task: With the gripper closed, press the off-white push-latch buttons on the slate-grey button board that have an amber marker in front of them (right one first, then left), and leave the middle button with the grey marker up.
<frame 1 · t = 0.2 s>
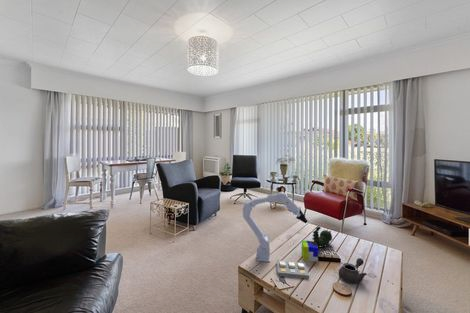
hand: (305, 220, 144), 30 cm above the table, tool tilted 45°, fingers open, 7 cm apart
button left: (282, 264, 139), point 3 cm above the table, slide at 0.0 cm
puzzle toy: (309, 257, 153), on the table
button middle: (291, 265, 138), point 3 cm above the table, slide at 0.0 cm
green cactus plant: (322, 245, 172), on the table
teapot: (354, 277, 130), on the table
button board: (291, 270, 137), on the table
button right: (301, 265, 137), point 3 cm above the table, slide at 0.0 cm
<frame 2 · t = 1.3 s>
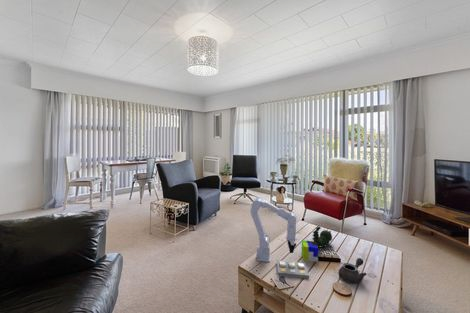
hand: (290, 250, 144), 9 cm above the table, tool pointing down, fingers open, 6 cm apart
nothing on the table moved.
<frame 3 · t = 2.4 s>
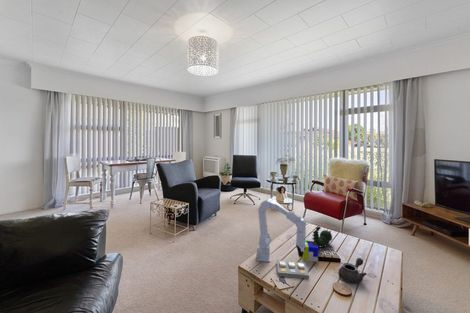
hand: (300, 256, 138), 9 cm above the table, tool pointing down, fingers closed
nothing on the table moved.
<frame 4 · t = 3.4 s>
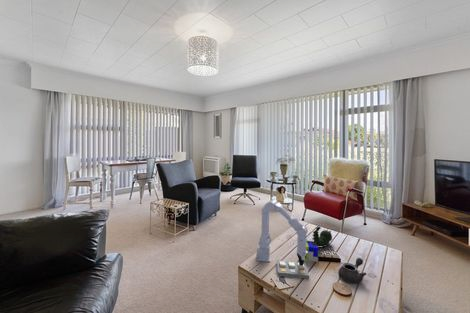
hand: (301, 264, 137), 3 cm above the table, tool pointing down, fingers closed, pressing on button right
button right: (301, 266, 137), point 3 cm above the table, slide at 0.0 cm, touching gripper
everything else where it was.
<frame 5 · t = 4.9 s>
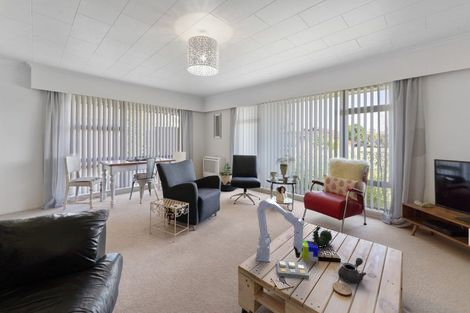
hand: (297, 257, 137), 8 cm above the table, tool pointing down, fingers closed
button right: (300, 267, 137), point 1 cm above the table, slide at 1.2 cm
everything else where it was.
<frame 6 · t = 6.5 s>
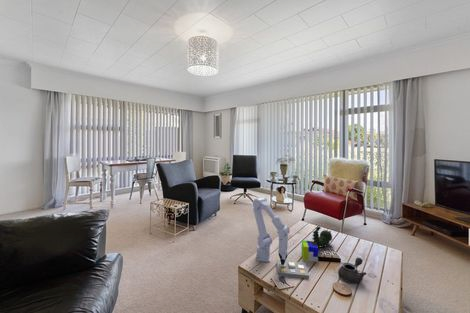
hand: (282, 264, 139), 3 cm above the table, tool pointing down, fingers closed, pressing on button left
button left: (282, 265, 139), point 2 cm above the table, slide at 0.7 cm, touching gripper
everything else where it was.
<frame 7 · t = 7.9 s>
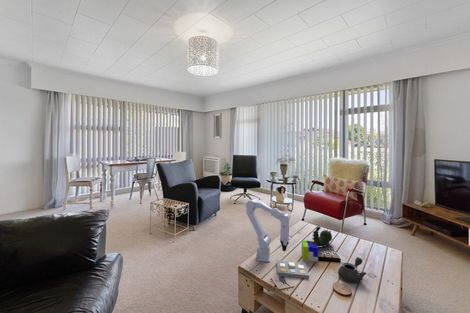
hand: (284, 250, 143), 10 cm above the table, tool pointing down, fingers closed
button left: (282, 265, 139), point 1 cm above the table, slide at 1.2 cm
everything else where it was.
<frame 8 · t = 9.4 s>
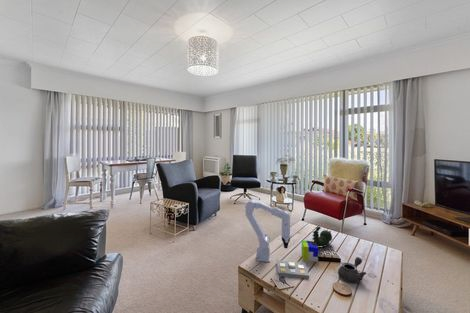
hand: (285, 247, 145), 10 cm above the table, tool pointing down, fingers closed
nothing on the table moved.
at the end: button right slide at 1.2 cm; button left slide at 1.2 cm; button middle slide at 0.0 cm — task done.
